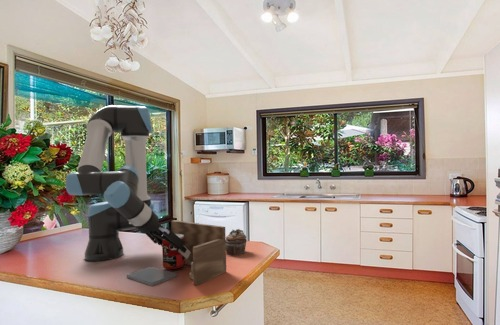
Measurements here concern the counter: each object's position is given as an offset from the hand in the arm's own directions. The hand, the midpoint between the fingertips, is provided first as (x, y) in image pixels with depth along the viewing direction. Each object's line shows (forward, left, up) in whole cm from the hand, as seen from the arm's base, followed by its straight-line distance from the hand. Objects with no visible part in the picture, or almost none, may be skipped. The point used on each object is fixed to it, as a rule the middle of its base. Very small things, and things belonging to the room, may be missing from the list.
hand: (180, 253), depth 118 cm
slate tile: (0, -13, -5) cm, 14 cm away
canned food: (0, -3, -4) cm, 5 cm away
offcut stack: (+14, -3, -5) cm, 15 cm away
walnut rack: (+5, -3, -5) cm, 8 cm away
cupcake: (+7, +25, -5) cm, 26 cm away
